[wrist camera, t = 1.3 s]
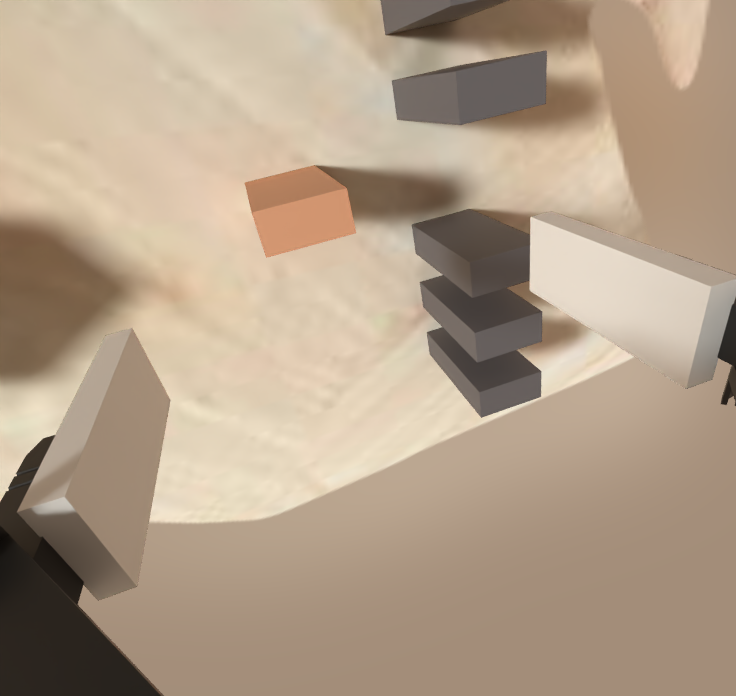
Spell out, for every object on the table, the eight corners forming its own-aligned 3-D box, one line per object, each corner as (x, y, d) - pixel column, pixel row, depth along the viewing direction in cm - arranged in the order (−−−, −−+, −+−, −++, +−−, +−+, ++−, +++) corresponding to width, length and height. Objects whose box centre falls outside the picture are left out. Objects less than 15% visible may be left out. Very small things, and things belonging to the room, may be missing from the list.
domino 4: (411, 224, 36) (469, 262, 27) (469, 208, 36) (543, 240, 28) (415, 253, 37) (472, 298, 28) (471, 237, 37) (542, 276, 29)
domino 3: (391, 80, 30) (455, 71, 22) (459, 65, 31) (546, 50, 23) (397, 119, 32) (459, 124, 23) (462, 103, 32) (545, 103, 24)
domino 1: (244, 182, 31) (251, 212, 22) (314, 165, 32) (346, 187, 23) (255, 217, 32) (266, 257, 24) (322, 199, 33) (356, 232, 24)
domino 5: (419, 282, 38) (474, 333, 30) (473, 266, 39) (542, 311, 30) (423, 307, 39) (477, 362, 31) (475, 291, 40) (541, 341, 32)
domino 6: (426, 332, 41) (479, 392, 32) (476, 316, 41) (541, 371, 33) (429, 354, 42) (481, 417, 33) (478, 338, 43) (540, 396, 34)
